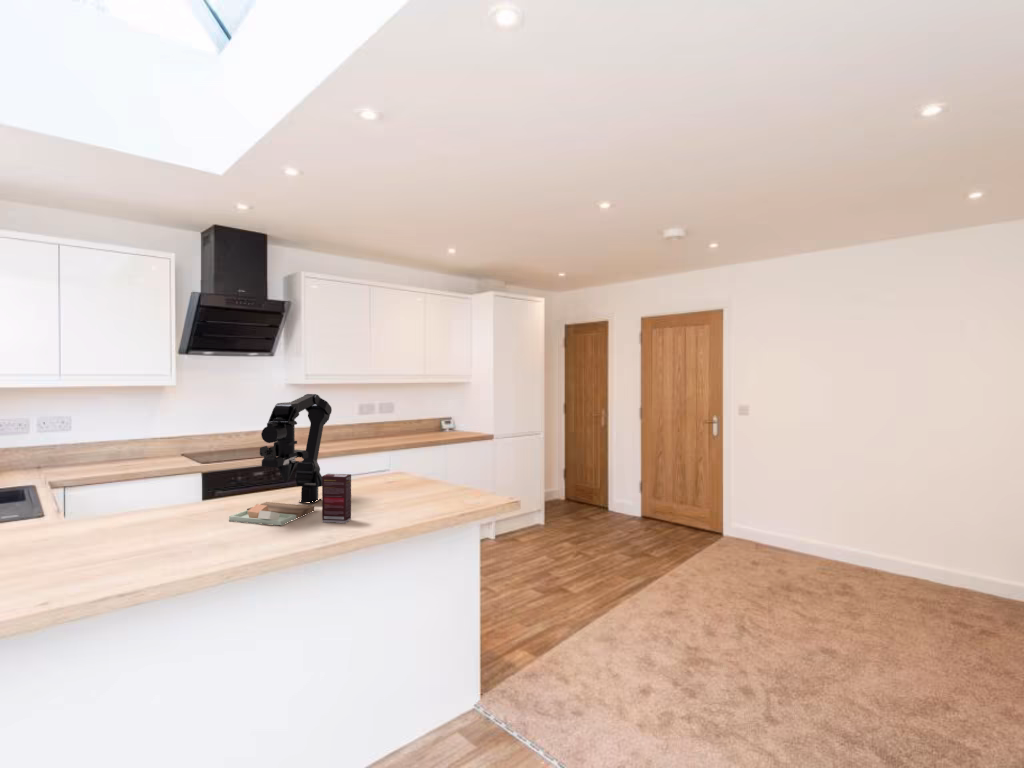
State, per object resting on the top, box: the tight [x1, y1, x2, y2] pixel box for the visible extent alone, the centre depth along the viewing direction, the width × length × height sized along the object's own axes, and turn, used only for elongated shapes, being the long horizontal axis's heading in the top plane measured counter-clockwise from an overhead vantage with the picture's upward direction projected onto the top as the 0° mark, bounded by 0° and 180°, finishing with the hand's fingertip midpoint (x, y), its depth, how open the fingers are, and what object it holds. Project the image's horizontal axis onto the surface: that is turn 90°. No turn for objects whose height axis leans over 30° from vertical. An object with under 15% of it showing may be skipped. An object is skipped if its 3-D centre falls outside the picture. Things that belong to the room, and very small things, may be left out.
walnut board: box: [246, 501, 315, 519], centre depth 185 cm, size 10×20×2 cm, turn 77°
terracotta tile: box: [247, 503, 269, 519], centre depth 178 cm, size 4×4×2 cm
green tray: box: [228, 509, 297, 526], centre depth 176 cm, size 8×20×2 cm, turn 77°
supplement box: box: [321, 473, 352, 524], centre depth 176 cm, size 9×5×16 cm, turn 84°
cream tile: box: [258, 511, 280, 520], centre depth 173 cm, size 4×4×2 cm
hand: (286, 482), depth 184 cm, fingers closed
